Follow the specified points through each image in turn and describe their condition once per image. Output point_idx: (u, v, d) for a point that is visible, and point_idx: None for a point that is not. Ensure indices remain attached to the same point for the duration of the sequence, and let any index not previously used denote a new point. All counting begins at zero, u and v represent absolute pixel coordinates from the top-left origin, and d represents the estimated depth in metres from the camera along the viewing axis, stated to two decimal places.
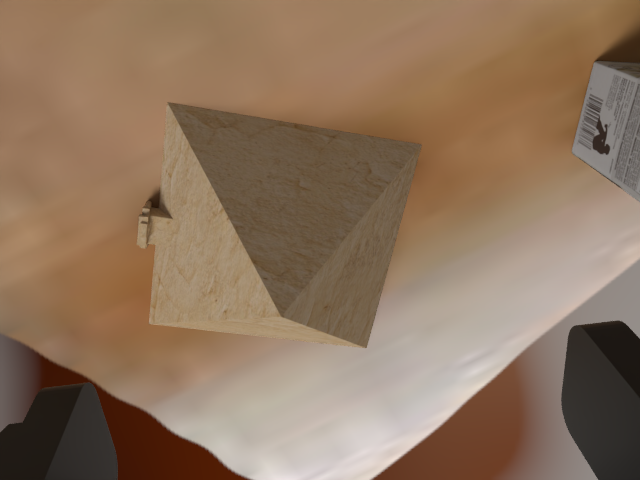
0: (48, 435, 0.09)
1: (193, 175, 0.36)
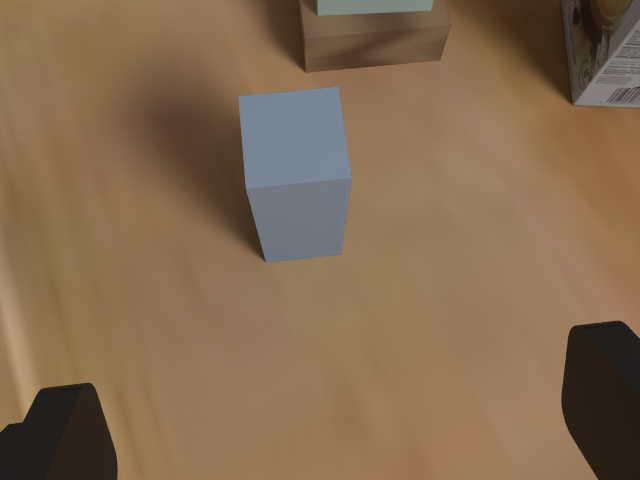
0: (48, 435, 0.09)
1: None
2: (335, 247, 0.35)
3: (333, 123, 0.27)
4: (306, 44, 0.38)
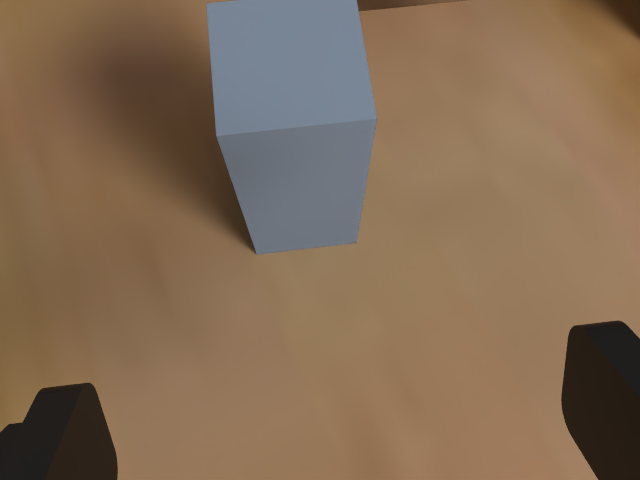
0: (48, 435, 0.09)
1: None
2: (349, 233, 0.26)
3: (347, 40, 0.18)
4: None
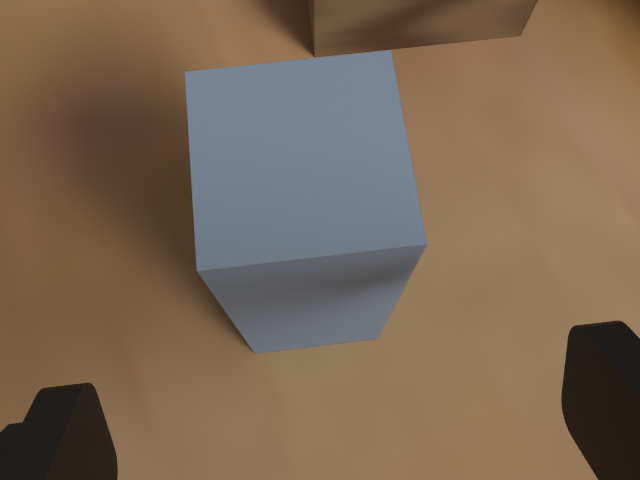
0: (48, 435, 0.09)
1: None
2: (370, 332, 0.21)
3: (382, 126, 0.13)
4: (316, 9, 0.23)
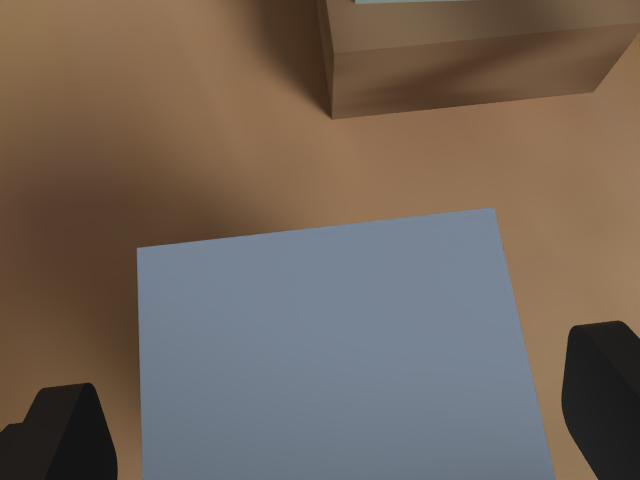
0: (48, 435, 0.09)
1: None
2: None
3: (487, 357, 0.07)
4: (337, 65, 0.18)
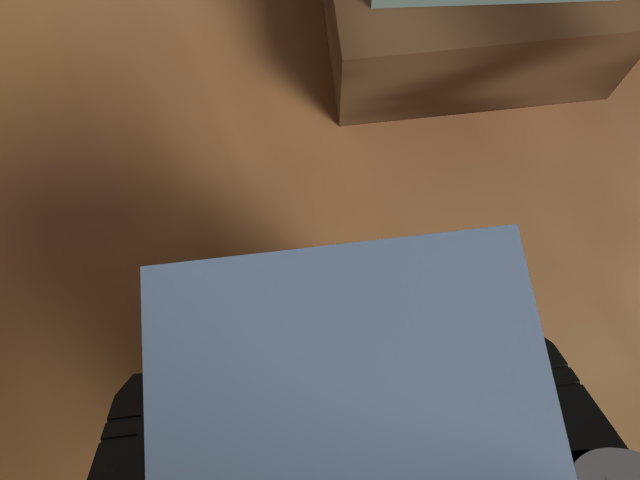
0: None
1: None
2: None
3: (511, 383, 0.07)
4: (345, 72, 0.17)
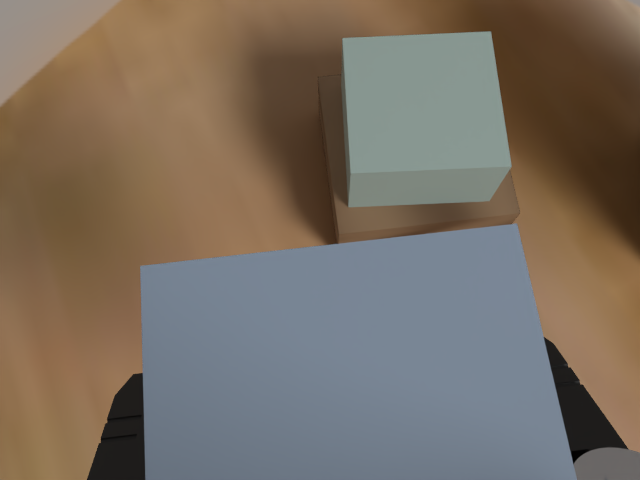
0: None
1: None
2: None
3: (512, 382, 0.07)
4: (340, 237, 0.31)
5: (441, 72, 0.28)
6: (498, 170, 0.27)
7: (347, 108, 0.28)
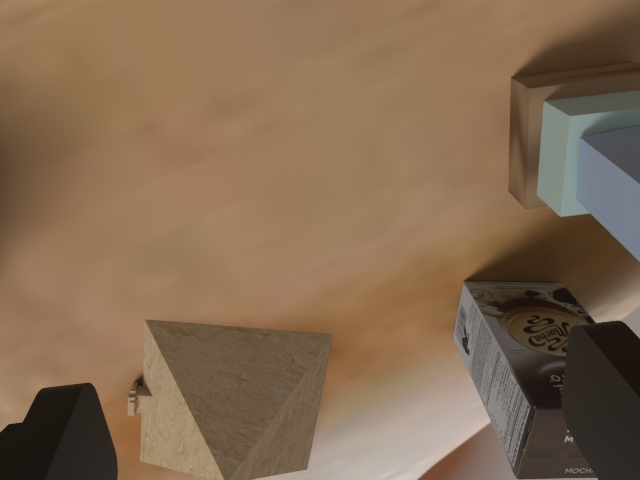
0: (48, 435, 0.09)
1: (165, 373, 0.51)
2: (586, 204, 0.40)
3: None
4: (526, 88, 0.42)
5: None
6: (558, 208, 0.42)
7: (619, 110, 0.39)
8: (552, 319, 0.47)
